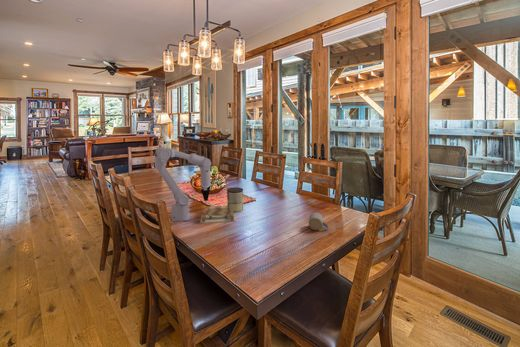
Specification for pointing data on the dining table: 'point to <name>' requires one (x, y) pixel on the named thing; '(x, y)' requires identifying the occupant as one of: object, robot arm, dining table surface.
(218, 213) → the tan wooden block
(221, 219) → the peg plate
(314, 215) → the ceramic mug
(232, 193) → the coffee can
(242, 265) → the dining table surface
